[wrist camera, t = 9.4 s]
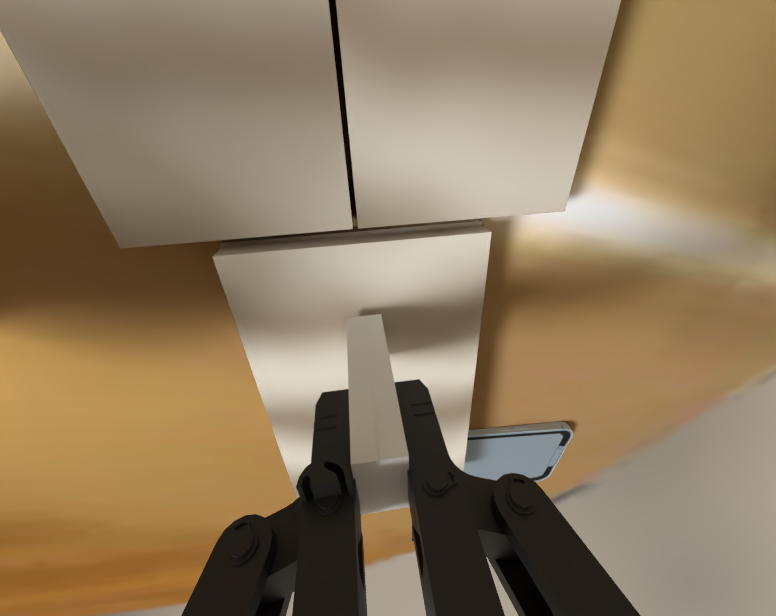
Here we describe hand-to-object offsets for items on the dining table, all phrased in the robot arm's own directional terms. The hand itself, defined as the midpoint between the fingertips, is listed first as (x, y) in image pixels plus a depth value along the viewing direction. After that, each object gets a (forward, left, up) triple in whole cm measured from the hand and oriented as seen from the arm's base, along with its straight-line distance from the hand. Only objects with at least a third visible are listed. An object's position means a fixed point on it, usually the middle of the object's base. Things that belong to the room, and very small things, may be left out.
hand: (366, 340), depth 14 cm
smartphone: (+15, +7, -3) cm, 17 cm away
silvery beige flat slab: (+5, 0, -2) cm, 5 cm away
